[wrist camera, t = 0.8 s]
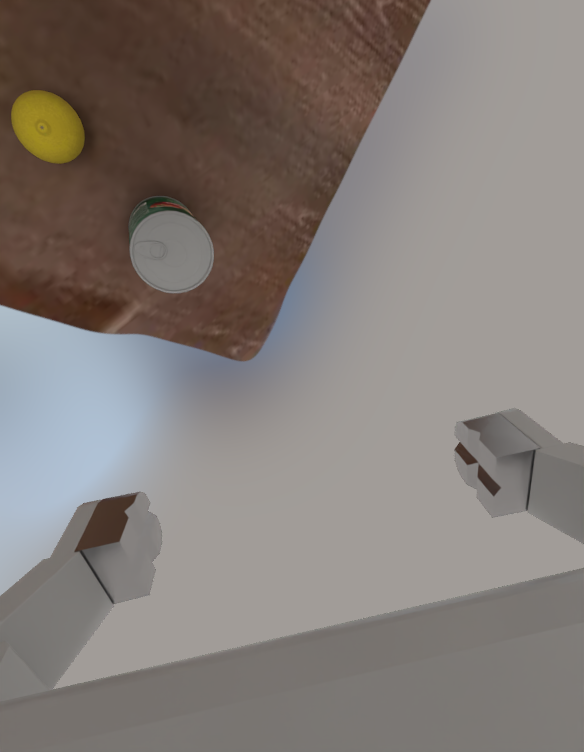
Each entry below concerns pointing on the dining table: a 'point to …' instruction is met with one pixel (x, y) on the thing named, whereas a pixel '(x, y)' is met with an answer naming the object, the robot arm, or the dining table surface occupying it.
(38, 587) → the robot arm
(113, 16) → the dining table surface
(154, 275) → the canned tomato
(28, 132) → the lemon
